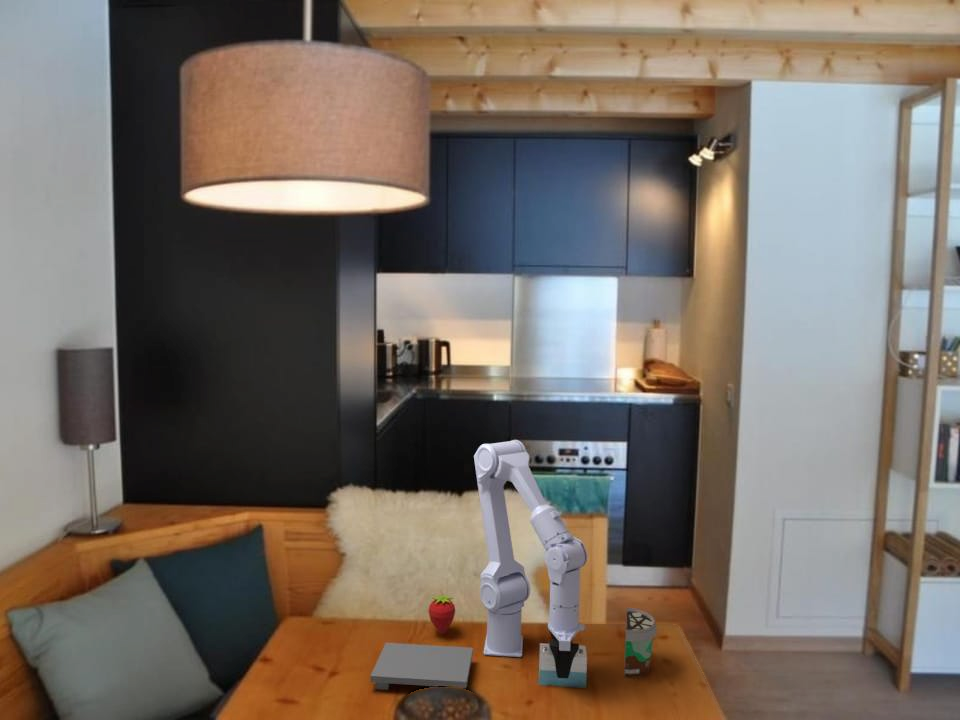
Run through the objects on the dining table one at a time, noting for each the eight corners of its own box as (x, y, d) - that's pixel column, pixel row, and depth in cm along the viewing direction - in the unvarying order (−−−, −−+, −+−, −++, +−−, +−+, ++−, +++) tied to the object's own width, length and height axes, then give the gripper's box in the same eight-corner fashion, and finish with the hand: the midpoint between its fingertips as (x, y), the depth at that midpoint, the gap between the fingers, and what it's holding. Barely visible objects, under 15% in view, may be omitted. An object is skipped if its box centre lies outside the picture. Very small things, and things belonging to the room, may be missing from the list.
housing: (538, 672, 147) (539, 641, 147) (584, 675, 147) (585, 644, 146) (538, 684, 143) (539, 653, 142) (586, 687, 142) (587, 656, 141)
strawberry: (426, 641, 160) (427, 596, 159) (429, 626, 167) (430, 583, 167) (454, 642, 160) (454, 597, 159) (455, 627, 167) (456, 584, 167)
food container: (656, 684, 144) (658, 634, 143) (624, 680, 145) (626, 631, 144) (654, 655, 156) (656, 609, 155) (624, 652, 157) (626, 606, 156)
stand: (385, 656, 152) (385, 642, 152) (472, 662, 151) (472, 647, 151) (370, 691, 138) (370, 675, 138) (465, 697, 137) (466, 682, 137)
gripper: (587, 618, 136) (585, 690, 137) (582, 589, 151) (580, 654, 151) (549, 616, 137) (547, 687, 138) (548, 587, 151) (546, 652, 152)
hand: (562, 670), depth 145 cm, fingers closed on housing, 5 cm apart
